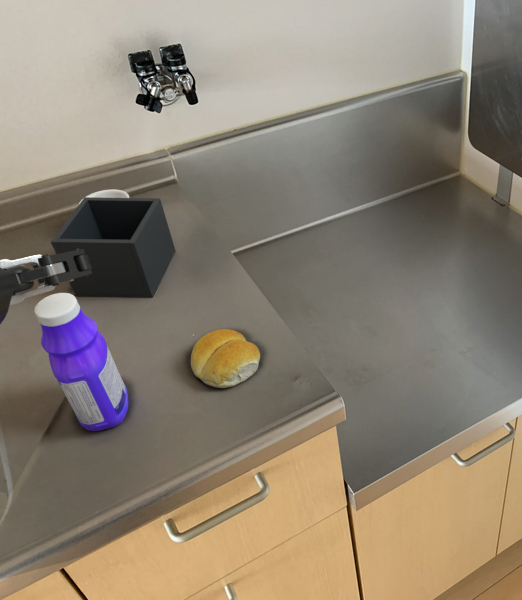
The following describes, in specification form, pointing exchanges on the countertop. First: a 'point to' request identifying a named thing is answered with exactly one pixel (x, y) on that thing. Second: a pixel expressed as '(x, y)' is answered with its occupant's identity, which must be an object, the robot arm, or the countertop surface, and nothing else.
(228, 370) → the bread roll
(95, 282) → the trash bin
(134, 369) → the countertop surface
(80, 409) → the bottle
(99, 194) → the teacup
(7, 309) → the robot arm
